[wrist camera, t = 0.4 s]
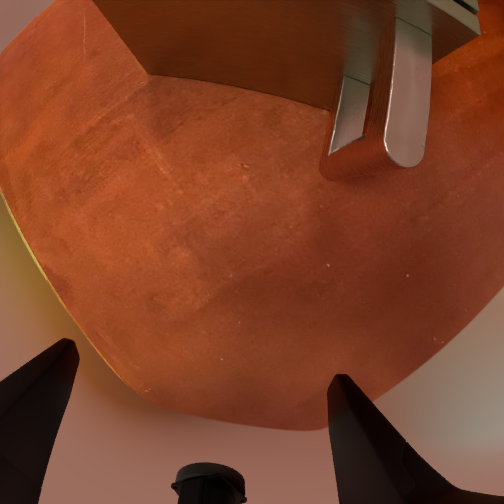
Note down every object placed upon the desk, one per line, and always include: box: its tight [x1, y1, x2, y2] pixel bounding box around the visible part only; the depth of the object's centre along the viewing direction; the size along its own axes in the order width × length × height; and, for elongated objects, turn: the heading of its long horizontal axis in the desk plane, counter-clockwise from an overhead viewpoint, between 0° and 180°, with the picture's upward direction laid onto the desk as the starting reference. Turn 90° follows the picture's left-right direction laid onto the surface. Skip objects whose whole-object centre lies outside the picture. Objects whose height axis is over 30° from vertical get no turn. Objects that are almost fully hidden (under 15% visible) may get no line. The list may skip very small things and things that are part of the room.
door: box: [92, 0, 481, 181], centre depth 13 cm, size 7×16×14 cm, turn 77°
